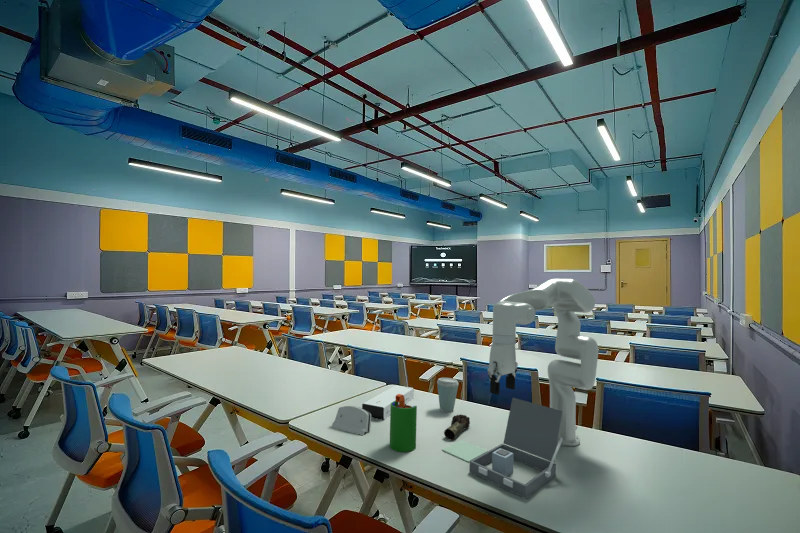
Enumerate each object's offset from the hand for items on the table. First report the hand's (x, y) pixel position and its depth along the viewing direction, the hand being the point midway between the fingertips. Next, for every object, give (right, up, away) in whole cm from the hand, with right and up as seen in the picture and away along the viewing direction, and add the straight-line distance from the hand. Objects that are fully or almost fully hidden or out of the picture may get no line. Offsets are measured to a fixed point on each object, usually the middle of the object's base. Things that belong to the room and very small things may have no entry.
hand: (502, 391), depth 125 cm
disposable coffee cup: (-11, -28, +56) cm, 64 cm away
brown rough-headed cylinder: (-11, -28, +31) cm, 43 cm away
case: (+4, -27, -1) cm, 27 cm away
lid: (+12, -16, +7) cm, 21 cm away
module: (0, -27, -1) cm, 27 cm away
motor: (-34, -27, +16) cm, 46 cm away
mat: (-10, -27, +13) cm, 32 cm away
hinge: (-55, -27, +32) cm, 69 cm away
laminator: (-40, -28, +59) cm, 77 cm away
